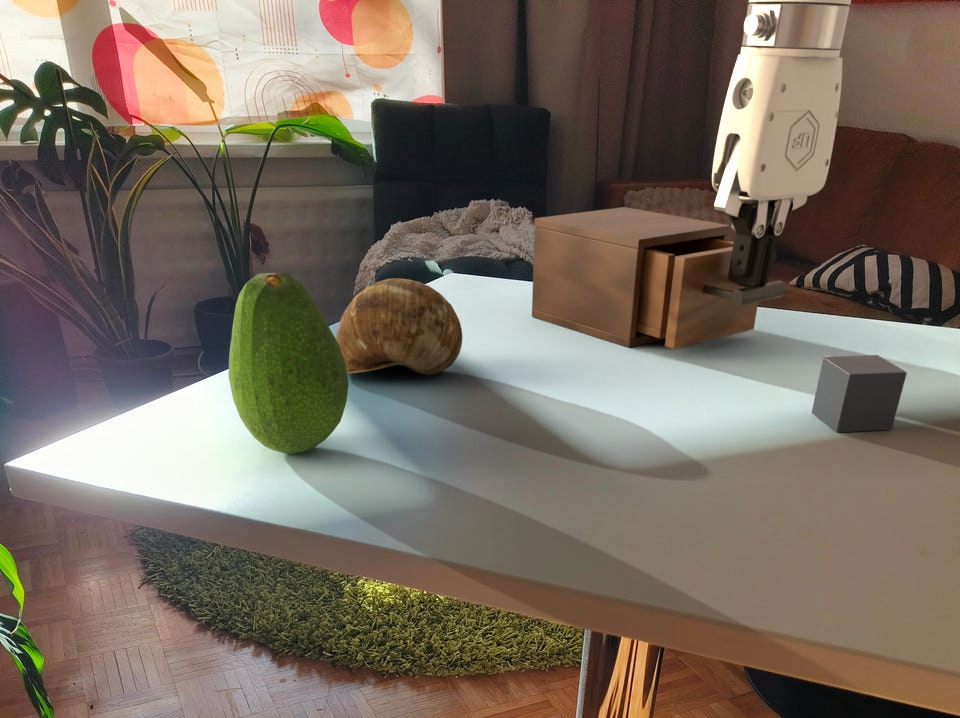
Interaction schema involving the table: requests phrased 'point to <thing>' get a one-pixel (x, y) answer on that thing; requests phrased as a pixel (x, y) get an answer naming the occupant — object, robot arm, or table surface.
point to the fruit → (285, 365)
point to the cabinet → (603, 267)
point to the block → (858, 393)
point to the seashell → (399, 328)
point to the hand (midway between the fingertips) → (747, 282)
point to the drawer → (696, 293)
